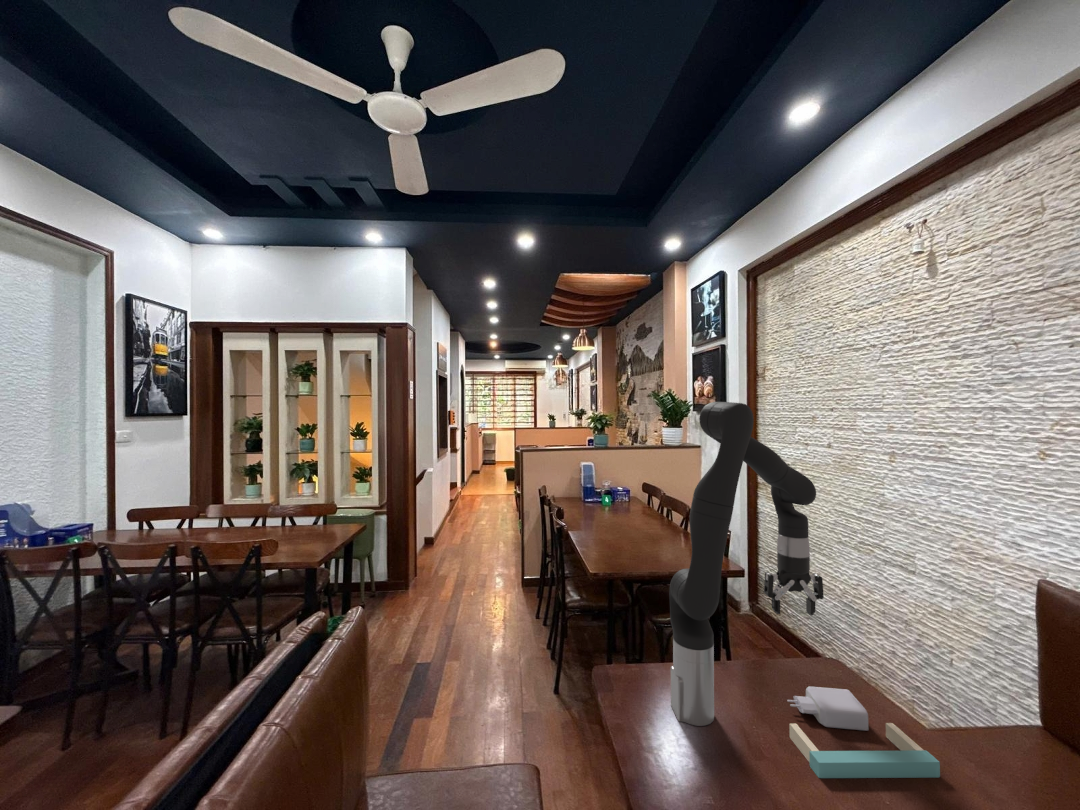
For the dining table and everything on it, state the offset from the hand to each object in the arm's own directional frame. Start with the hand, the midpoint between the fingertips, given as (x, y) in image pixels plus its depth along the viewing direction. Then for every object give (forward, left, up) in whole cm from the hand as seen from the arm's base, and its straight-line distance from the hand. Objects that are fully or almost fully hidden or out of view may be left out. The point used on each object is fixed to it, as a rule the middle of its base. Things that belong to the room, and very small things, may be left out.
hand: (793, 613), depth 118 cm
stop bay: (-1, -25, -19) cm, 31 cm away
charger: (0, -12, -19) cm, 23 cm away
